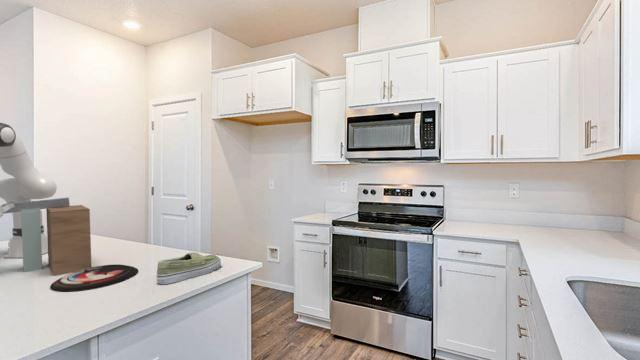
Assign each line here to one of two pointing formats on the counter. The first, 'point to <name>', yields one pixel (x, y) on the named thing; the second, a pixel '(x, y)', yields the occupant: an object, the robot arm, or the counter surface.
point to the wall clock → (94, 278)
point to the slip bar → (39, 204)
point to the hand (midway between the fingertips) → (13, 203)
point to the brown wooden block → (68, 239)
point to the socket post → (31, 239)
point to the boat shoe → (186, 267)
